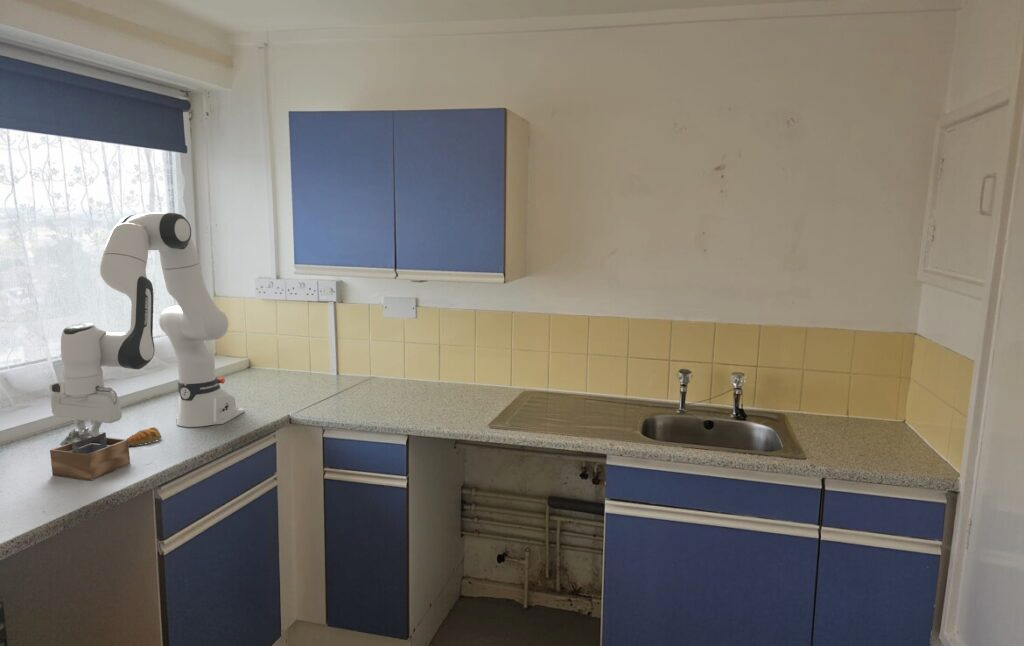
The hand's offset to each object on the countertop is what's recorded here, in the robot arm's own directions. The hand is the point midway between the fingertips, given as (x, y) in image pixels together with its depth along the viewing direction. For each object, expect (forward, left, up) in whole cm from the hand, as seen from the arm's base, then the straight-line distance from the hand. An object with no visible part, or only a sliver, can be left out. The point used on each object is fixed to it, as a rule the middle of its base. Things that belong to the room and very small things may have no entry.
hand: (89, 435), depth 179 cm
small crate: (0, 0, -9) cm, 9 cm away
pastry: (-23, -5, -10) cm, 26 cm away
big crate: (0, 0, -10) cm, 10 cm away
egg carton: (-14, -21, -10) cm, 27 cm away
